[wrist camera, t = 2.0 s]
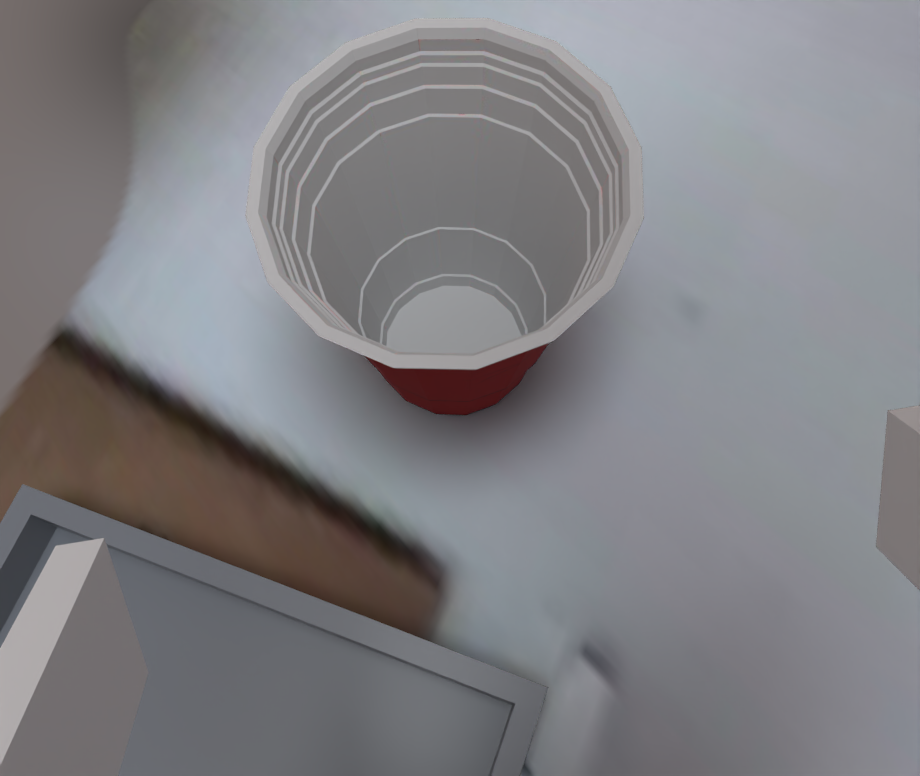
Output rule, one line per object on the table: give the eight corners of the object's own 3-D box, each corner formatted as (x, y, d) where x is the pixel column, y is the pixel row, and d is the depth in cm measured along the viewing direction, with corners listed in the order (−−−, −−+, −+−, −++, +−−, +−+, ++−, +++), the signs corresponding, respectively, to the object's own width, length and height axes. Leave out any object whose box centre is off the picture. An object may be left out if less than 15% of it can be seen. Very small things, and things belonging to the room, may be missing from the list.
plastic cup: (255, 381, 34) (153, 211, 23) (422, 188, 37) (404, -44, 26) (483, 545, 32) (492, 444, 21) (641, 324, 35) (724, 133, 24)
